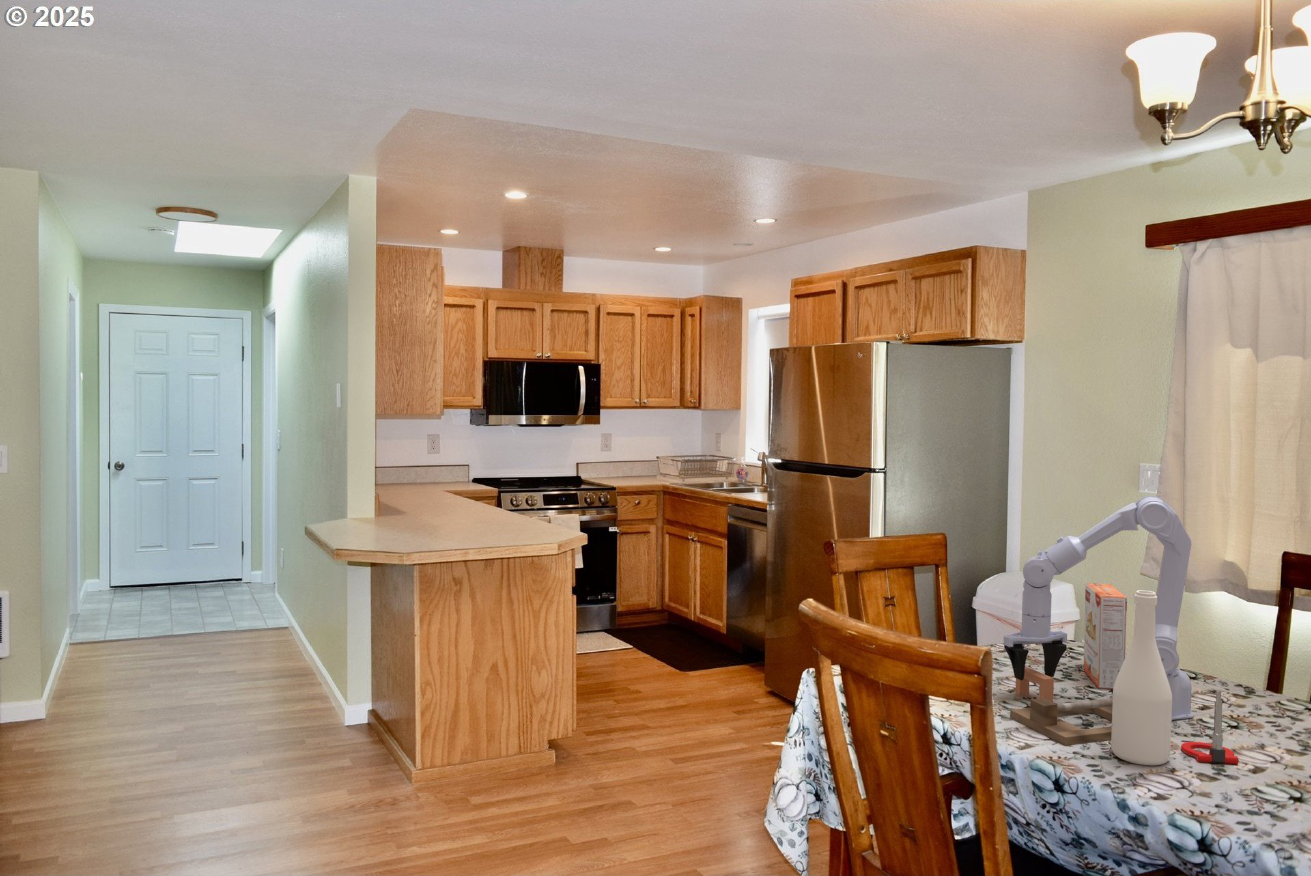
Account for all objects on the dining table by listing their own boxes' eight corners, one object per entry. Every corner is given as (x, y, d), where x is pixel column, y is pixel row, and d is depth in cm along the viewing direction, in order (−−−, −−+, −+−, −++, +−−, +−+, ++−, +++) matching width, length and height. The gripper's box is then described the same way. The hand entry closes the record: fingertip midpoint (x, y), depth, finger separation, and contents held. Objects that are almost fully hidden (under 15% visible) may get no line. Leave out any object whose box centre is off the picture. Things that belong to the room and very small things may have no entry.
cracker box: (1081, 670, 230) (1084, 582, 229) (1109, 672, 229) (1112, 583, 228) (1095, 689, 216) (1099, 594, 215) (1125, 691, 215) (1128, 596, 214)
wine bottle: (1100, 747, 181) (1106, 586, 180) (1150, 746, 182) (1156, 586, 180) (1128, 767, 172) (1134, 597, 170) (1181, 766, 173) (1187, 597, 171)
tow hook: (1173, 746, 184) (1193, 762, 174) (1175, 677, 183) (1195, 690, 174) (1222, 749, 182) (1244, 766, 173) (1224, 680, 182) (1246, 693, 173)
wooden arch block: (1024, 692, 213) (1025, 666, 213) (1053, 705, 205) (1053, 678, 205) (1015, 693, 213) (1016, 667, 212) (1043, 706, 204) (1044, 679, 204)
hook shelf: (1107, 706, 205) (1108, 680, 204) (1168, 732, 189) (1169, 704, 189) (1010, 717, 198) (1010, 690, 197) (1065, 745, 182) (1066, 716, 182)
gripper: (1052, 607, 214) (1050, 669, 215) (995, 611, 209) (993, 674, 210) (1075, 615, 207) (1072, 678, 208) (1016, 619, 203) (1014, 684, 204)
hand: (1034, 677), depth 209 cm, fingers open, 7 cm apart
